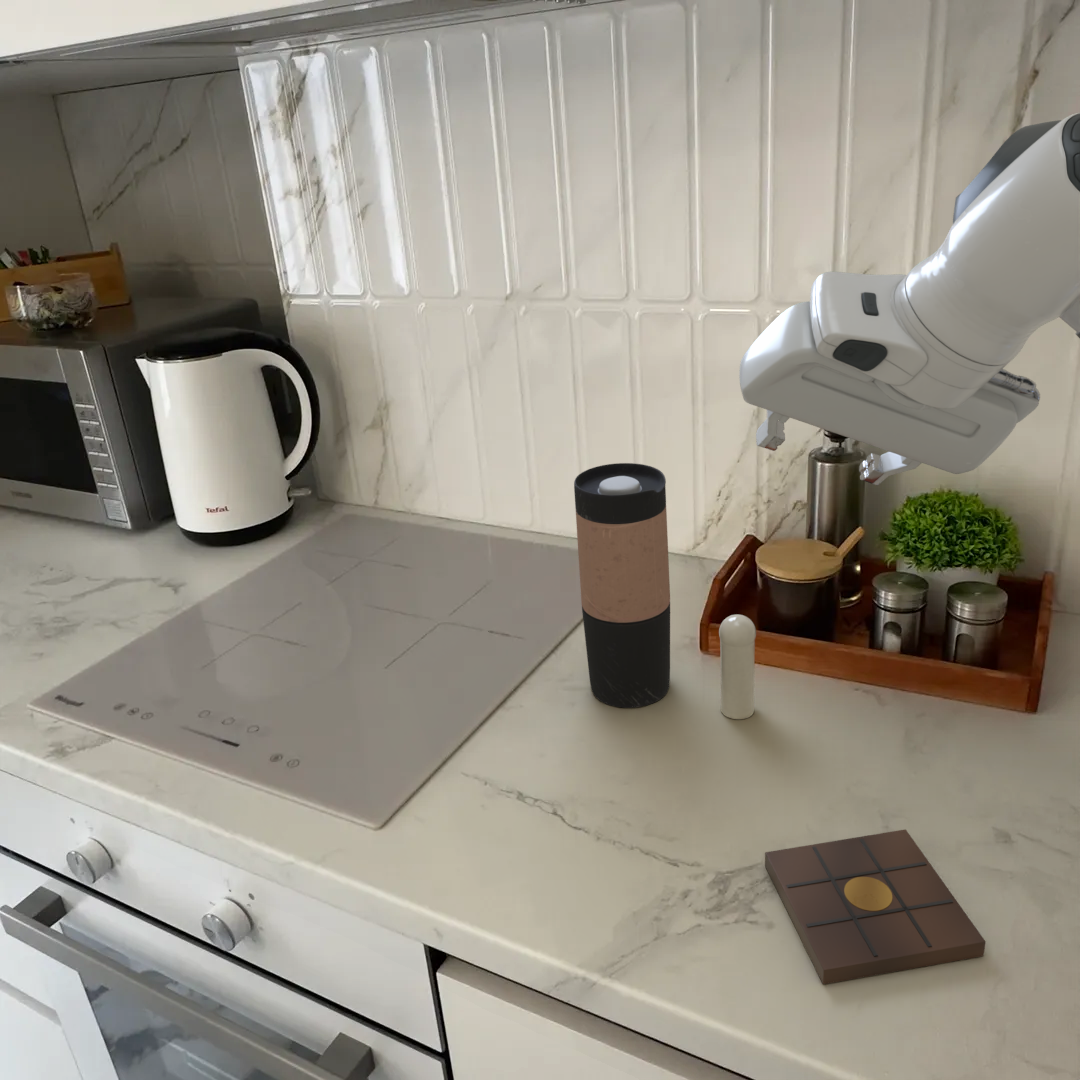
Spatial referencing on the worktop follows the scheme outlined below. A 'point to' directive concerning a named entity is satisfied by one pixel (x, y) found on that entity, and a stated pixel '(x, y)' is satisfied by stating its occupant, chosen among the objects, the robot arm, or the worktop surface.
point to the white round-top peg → (737, 666)
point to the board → (871, 907)
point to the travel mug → (624, 581)
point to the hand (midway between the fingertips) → (816, 459)
